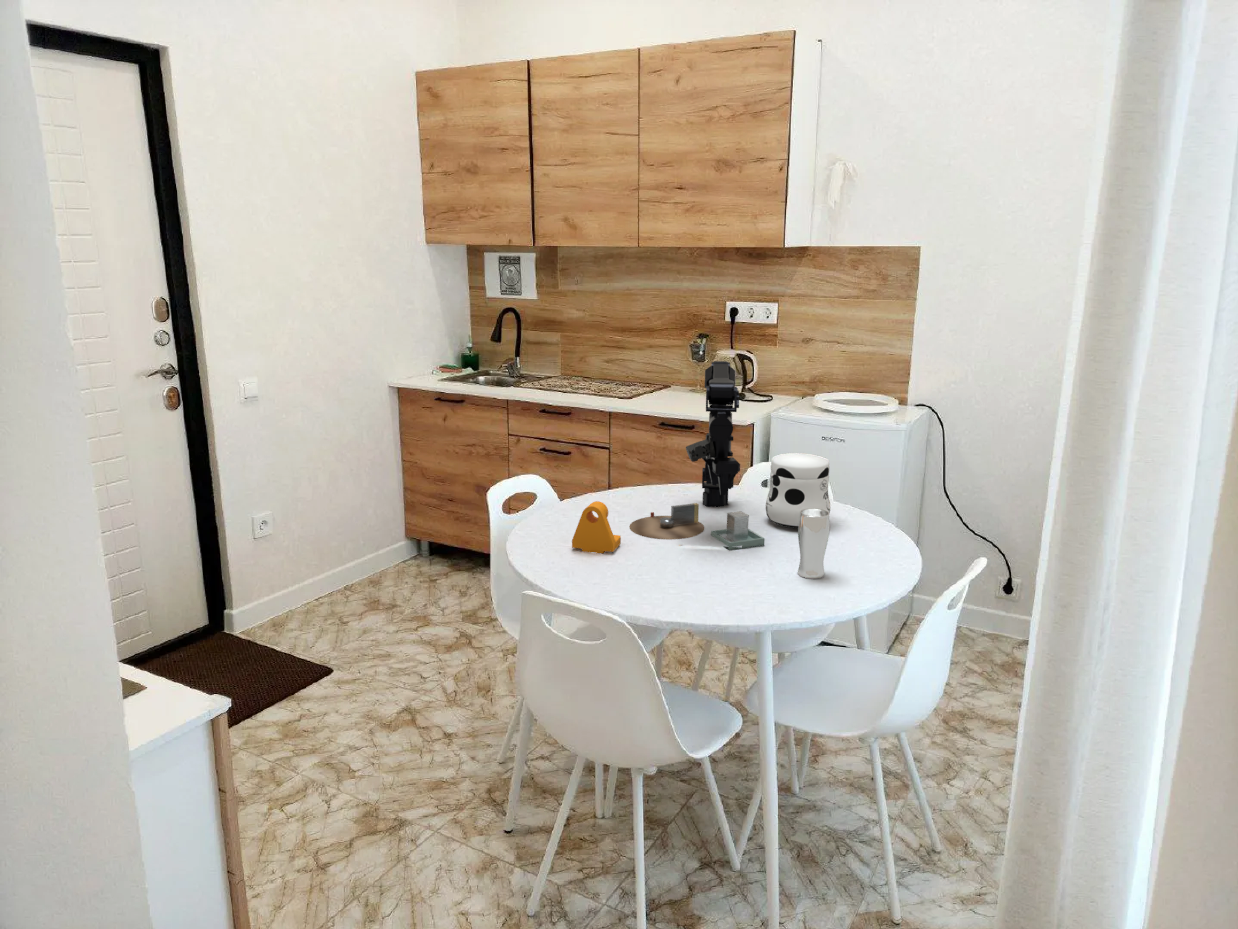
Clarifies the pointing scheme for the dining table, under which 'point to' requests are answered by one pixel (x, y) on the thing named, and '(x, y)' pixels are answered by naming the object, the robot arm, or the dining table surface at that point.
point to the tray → (752, 541)
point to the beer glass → (812, 542)
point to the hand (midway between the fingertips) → (718, 490)
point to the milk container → (797, 487)
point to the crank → (681, 515)
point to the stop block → (737, 526)
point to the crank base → (664, 528)
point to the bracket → (595, 531)
